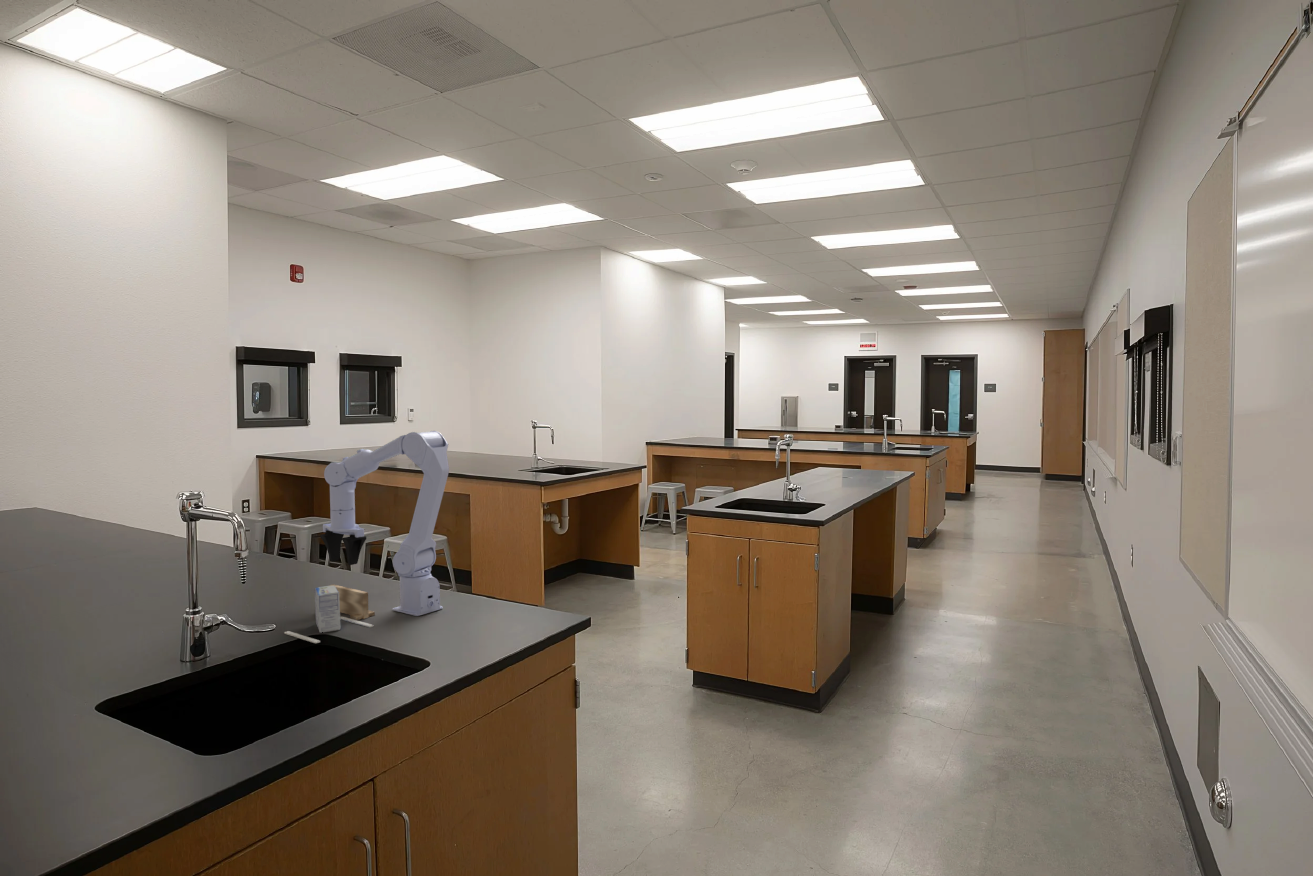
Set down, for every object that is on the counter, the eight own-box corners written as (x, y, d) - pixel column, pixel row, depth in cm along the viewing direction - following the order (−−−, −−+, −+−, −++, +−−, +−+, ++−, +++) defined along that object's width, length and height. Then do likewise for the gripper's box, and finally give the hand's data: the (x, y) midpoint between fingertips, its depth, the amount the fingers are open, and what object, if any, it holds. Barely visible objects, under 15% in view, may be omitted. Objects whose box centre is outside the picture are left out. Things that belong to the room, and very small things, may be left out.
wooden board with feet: (375, 615, 173) (375, 590, 173) (356, 620, 169) (356, 595, 169) (340, 606, 181) (340, 582, 181) (322, 611, 177) (321, 587, 176)
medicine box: (340, 630, 162) (339, 592, 162) (318, 633, 160) (317, 595, 159) (336, 621, 169) (335, 584, 168) (315, 624, 166) (314, 587, 166)
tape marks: (373, 626, 165) (373, 625, 165) (315, 643, 153) (315, 642, 153) (342, 617, 171) (342, 616, 171) (284, 633, 160) (284, 632, 160)
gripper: (374, 509, 182) (375, 563, 183) (339, 505, 190) (341, 556, 191) (349, 513, 176) (350, 568, 177) (314, 508, 184) (315, 561, 185)
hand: (343, 562), depth 183 cm, fingers open, 7 cm apart
